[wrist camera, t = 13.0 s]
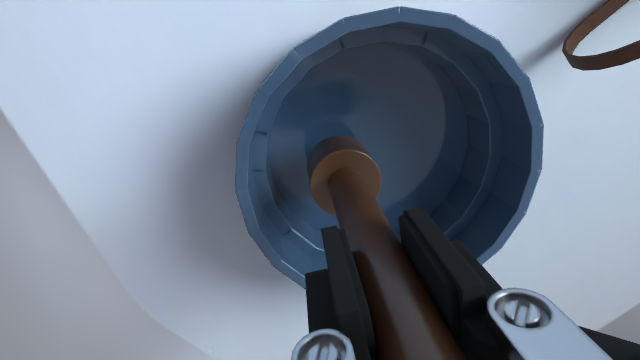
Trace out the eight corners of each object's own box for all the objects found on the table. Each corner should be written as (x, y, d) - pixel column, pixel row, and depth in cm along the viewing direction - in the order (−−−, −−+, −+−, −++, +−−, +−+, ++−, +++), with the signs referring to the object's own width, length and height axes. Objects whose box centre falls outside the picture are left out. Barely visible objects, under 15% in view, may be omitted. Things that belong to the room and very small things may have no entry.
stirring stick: (313, 200, 21) (365, 511, 7) (300, 142, 20) (331, 380, 6) (373, 187, 21) (544, 470, 7) (364, 128, 20) (552, 331, 6)
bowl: (280, 267, 26) (277, 329, 20) (218, 48, 20) (191, 49, 14) (484, 224, 26) (538, 273, 20) (478, -6, 20) (550, -26, 15)
